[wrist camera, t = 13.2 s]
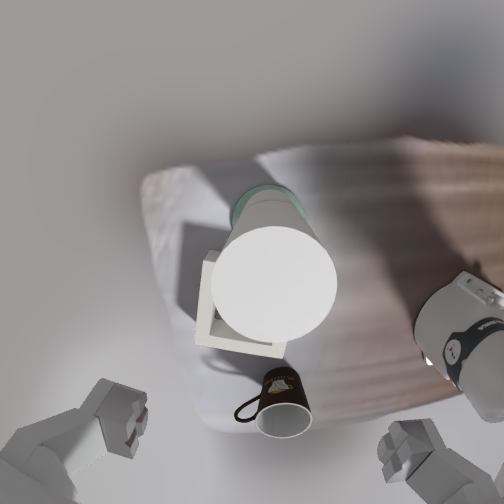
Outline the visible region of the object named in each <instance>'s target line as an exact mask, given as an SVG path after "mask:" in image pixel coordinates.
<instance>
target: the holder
mask: <svg viewBox="0 0 504 504" xmlns="http://www.w3.org/2000/svg"><path fill="white" fill-rule="evenodd" d="M220 253H221V251H216V250H209V252H208V254H207V255H206V257H205V258H204V260H203V266H202V274H201V283H200V292H199V301H198V311H197V321H196V331H195V342H194V344H198V345H203V346H208V347H213V348H219V349H224V350H229V351H235V352H241V353H247V354H253V355H260V356H266V357H273V358H280V359H283V355H284V351H285V348H286V344H287V341H285V342H278V343H275V342H262V341H256V340H253V339H250V338H248V337H245V336H243V335H242V334H240V333H238V332H236V331H235V330H234V329H233V328H231V327H230V326H229V325H228V324H227V323H226V322H225V321H224V320H220V319H215V312H216V306H215V304H214V301H213V297H212V293H211V279H212V272H213V269H214V266H215V264H216V261H217V259H218V257H219V255H220Z"/></svg>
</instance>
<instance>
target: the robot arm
mask: <svg viewBox="0 0 504 504" xmlns="http://www.w3.org/2000/svg"><path fill="white" fill-rule="evenodd" d="M467 281H468V282H467ZM414 336H415V341H416V344H417V345H418V347H419V348H420V349H421V350H422V352H423V356H424V361H425V363H426V364H427V365H434V366H435V367H436V369H437V370H438V371H439V372H440V373H441V374H442V375H443V376H444V377H445V378H446V379H448V380H449V379H451V382H452V383H453V384H454V386H456V388H457V389H458V390H459V391H461V392H463V393H464V394H465V395H466V397H467V398H468V399H469V401H470V402H471V404H472V405H473V407H474V408H475V410H476V411H477V413H478V414H479V416H480V417H481V418H482V419H483V420H484V421H486V422H489V423H496V422H502V421H504V293H503V292H501V291H499V290H498V289H496V288H494V287H493V286H491V285H489V284H488V283H486V282H484V281H482V280H481V279H479V278H477V277H475V276H474V275H472V274H470V273H468V272H466V271H463V272H461V273H460V274H459V275H458V276H457V277H456V278H455V279H454V280H453V282H451V283H450V284H448V285H446V286H445V287H443V288H441V289H440V290H438V291H437V292H436V293H435V294H433V295H432V296H431V297H430V298H429V300H428V301H427V302H426V303H425V305H424V306H423V308H422V309H421V311H420V313H419V315H418V318H417V321H416V324H415V330H414ZM146 401H147V396H146V393H145V392H143V391H140V390H137V389H134V388H131V387H128V386H125V385H122V384H119V383H115V382H113V381H110V380H107V379H104V378H102V379H100V380H99V381H98V382H97V384H96V385H95V387H94V388H93V389H92V391H91V392H90V394H89V395H88V397H87V398H86V400H85V401H84V402H83V404H82V405H81V407H80V408H79V409H76V408H74V409H71V410H69V411H66V412H64V413H61V414H58V415H56V416H53V417H50V418H47V419H45V420H42V421H39V422H37V423H34V424H31V425H28V426H25V427H22V428H20V429H17V431H16V432H15V433H14V434H13V436H12V437H11V439H10V440H9V441H8V442H7V444H6V445H5V446H4V448H3V449H2V450H1V452H0V504H79V503H77V502H75V501H74V499H75V497H76V495H77V493H78V492H77V489H76V487H75V486H74V484H73V483H72V481H71V480H70V478H69V476H71V475H72V474H74V473H76V472H78V471H79V470H81V469H83V468H84V467H86V466H88V465H89V464H91V463H92V462H94V461H96V460H97V459H99V458H100V457H102V456H103V455H105V454H107V453H108V452H111V453H114V454H118V455H120V456H124V457H127V458H130V459H133V457H134V455H135V453H136V450H137V448H138V446H139V442H138V437H139V436H141V435H143V434H144V431H145V428H146V425H147V420H148V409H147V408H146V407H145V403H146ZM388 429H389V433H387V434H386V435H384V436H383V437H382V439H381V440H380V442H379V444H378V449H377V451H378V457H379V460H380V461H381V462H382V463H383V464H384V466H383V468H382V471H383V475H384V478H385V481H386V483H393V482H401V481H406V483H407V484H408V485H409V486H410V487H411V488H412V489H413V490H414V491H415V492H416V493H417V494H418V495H419V496H420V497H421V498H422V499H423V500H424V501H425V502H426V503H427V504H504V463H503V465H502V467H501V469H500V471H499V473H498V475H497V477H496V479H495V481H494V482H493V480H492V478H491V476H490V475H489V474H488V473H486V472H484V471H483V470H481V469H480V468H478V467H477V466H475V465H474V464H472V463H471V462H469V461H468V460H466V459H465V458H464V457H462V456H461V455H459V454H458V453H456V452H454V451H453V450H452V449H450V448H448V449H447V448H446V446H445V444H444V442H443V440H442V438H441V436H440V434H439V432H438V430H437V428H436V426H435V425H434V422H433V421H432V420H431V419H418V420H405V421H394V422H393V423H392V424H391V425H390V426H389V428H388Z"/></svg>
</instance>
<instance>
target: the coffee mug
mask: <svg viewBox="0 0 504 504" xmlns="http://www.w3.org/2000/svg"><path fill="white" fill-rule="evenodd" d="M258 399H260V400H259V405H258V409H257V412H256V413H255V414H254V416H252V417H250V418H247V419H241V418H239V417H238V413H239V412H240V411H241V410H242V409H243V408H244V407H246V406H247V405H249V404H251V403H252V402H254V401H256V400H258ZM234 417H235V419H236V421H238V422H242V423H247V422H250V421H253V420H255V424H256V427H257V429H258V430H259V431H260V432H261V433H263V434H265V435H267V436H270V437H274V438H290V437H294V436H297V435H299V434H301V433H303V432H305V431H306V430H307V429H308V428H309V427H310V425H311V424H312V420H313V419H312V414H311V411H310V408H309V405H308V401H307V398H306V395H305V392H304V389H303V386H302V383H301V380H300V377H299V374H298V373H297V372H296V371H295V370H293V369H290V368H286V367H280V368H275V369H273V370H271V371H269V372H268V373H267V374H266V376H265V378H264V381H263V386H262V391H261V393H260V395H258V396H256V397H255V398H253V399H251V400H249V401H248V402H246V403H244V404H243V405H241V406H240V407H239V408H238V409H237V410H236V411H235V413H234Z"/></svg>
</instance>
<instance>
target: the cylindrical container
mask: <svg viewBox="0 0 504 504" xmlns="http://www.w3.org/2000/svg"><path fill="white" fill-rule="evenodd" d="M336 290H337V277H336V271H335V268H334V265H333V262H332V260H331V258H330V257H329V255H328V253H327V252H326V250H325V248H324V247H323V245H322V244H321V242H320V241H319V239H318V238H317V236H316V235H315V234H314V232H313V231H312V229H311V228H310V226H309V225H308V223H307V222H306V220H305V219H304V217H303V216H302V215H301V213H300V212H299V210H298V209H297V207H296V206H295V205H294V203H293V202H292V200H291V199H290V198H289V197H288V196H287V195H286V194H284V193H282V192H280V191H278V190H272V189H268V190H262V191H260V192H257V193H256V194H254V195H253V196H252V197H251V198H250V199H249V200H248V202H247V204H246V205H245V207H244V209H243V211H242V213H241V215H240V217H239V219H238V221H237V222H236V224H235V226H234V228H233V230H232V232H231V234H230V236H229V238H228V240H227V242H226V244H225V245H224V247H223V249H222V251H221V253H220V255H219V257H218V259H217V261H216V264H215V266H214V269H213V272H212V279H211V293H212V297H213V301H214V304H215V306H216V308H217V310H218V312H219V314H220V316H221V317H222V318H223V319H224V321H225V322H226V323H227V324H228V325H229V326H230V327H231V328H233V329H234V330H235V331H236V332H238V333H240V334H242V335H243V336H245V337H248V338H250V339H253V340H256V341H262V342H275V343H278V342H285V341H290V340H293V339H296V338H299V337H301V336H303V335H305V334H307V333H309V332H310V331H312V330H313V329H314V328H315V327H317V326H318V325H319V324H320V323H321V322H322V321H323V320H324V318H325V317H326V316H327V315H328V313H329V311H330V309H331V307H332V305H333V303H334V300H335V296H336Z"/></svg>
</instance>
